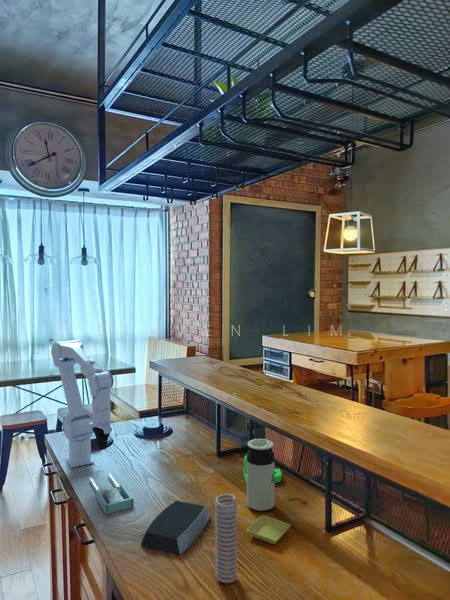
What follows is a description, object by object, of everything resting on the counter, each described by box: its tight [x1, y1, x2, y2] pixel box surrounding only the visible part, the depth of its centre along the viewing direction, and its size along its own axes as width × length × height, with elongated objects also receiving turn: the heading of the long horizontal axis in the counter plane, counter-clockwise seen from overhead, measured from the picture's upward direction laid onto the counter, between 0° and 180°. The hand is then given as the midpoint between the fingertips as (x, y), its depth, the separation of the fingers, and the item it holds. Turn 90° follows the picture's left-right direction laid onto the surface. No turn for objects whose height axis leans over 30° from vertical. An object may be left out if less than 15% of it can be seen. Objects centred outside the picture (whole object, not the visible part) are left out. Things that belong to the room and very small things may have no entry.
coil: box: [214, 493, 238, 584], centre depth 94 cm, size 5×5×18 cm
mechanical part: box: [243, 454, 283, 485], centre depth 142 cm, size 12×6×8 cm, turn 95°
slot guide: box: [88, 472, 120, 493], centre depth 137 cm, size 11×7×2 cm, turn 30°
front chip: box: [106, 493, 125, 504], centre depth 126 cm, size 4×4×2 cm
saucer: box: [246, 514, 292, 545], centre depth 111 cm, size 9×9×2 cm
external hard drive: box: [140, 500, 211, 555], centre depth 113 cm, size 12×18×4 cm
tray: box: [95, 483, 135, 515], centre depth 127 cm, size 11×8×2 cm
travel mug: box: [246, 438, 275, 512], centre depth 125 cm, size 8×8×18 cm
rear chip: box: [102, 487, 121, 501], centre depth 130 cm, size 4×4×2 cm
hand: (102, 448), depth 144 cm, fingers closed
